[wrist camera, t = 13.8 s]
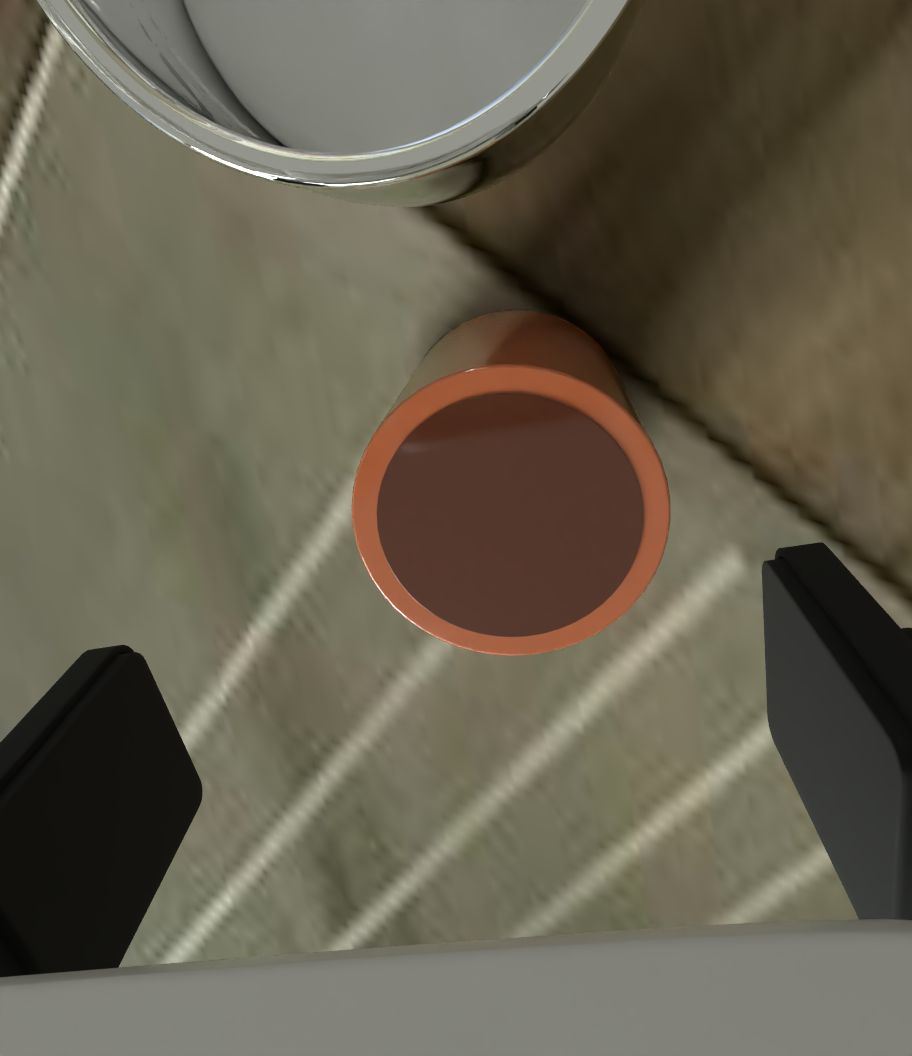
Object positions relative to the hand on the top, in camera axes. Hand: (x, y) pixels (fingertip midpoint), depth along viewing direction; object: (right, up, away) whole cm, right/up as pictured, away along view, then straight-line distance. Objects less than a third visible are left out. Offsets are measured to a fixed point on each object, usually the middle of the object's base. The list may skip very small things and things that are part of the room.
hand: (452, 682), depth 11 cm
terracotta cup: (+2, +6, +13) cm, 14 cm away
